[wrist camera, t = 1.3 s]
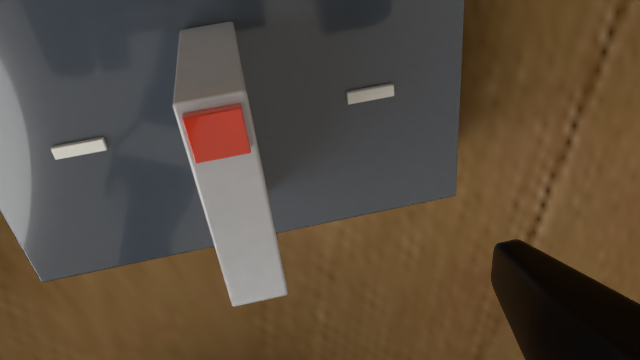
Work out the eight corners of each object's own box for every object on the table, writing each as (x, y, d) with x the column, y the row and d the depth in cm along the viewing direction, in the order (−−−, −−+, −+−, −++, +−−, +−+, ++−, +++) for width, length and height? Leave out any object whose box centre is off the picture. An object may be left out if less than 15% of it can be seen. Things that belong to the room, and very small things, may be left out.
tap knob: (268, 192, 17) (290, 303, 13) (224, 201, 16) (232, 316, 13) (233, 20, 14) (247, 95, 10) (178, 29, 13) (170, 110, 9)
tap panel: (60, 226, 19) (39, 287, 17) (-68, -30, 14) (-128, 1, 12) (426, 152, 21) (458, 198, 18) (427, -105, 16) (472, -92, 13)
